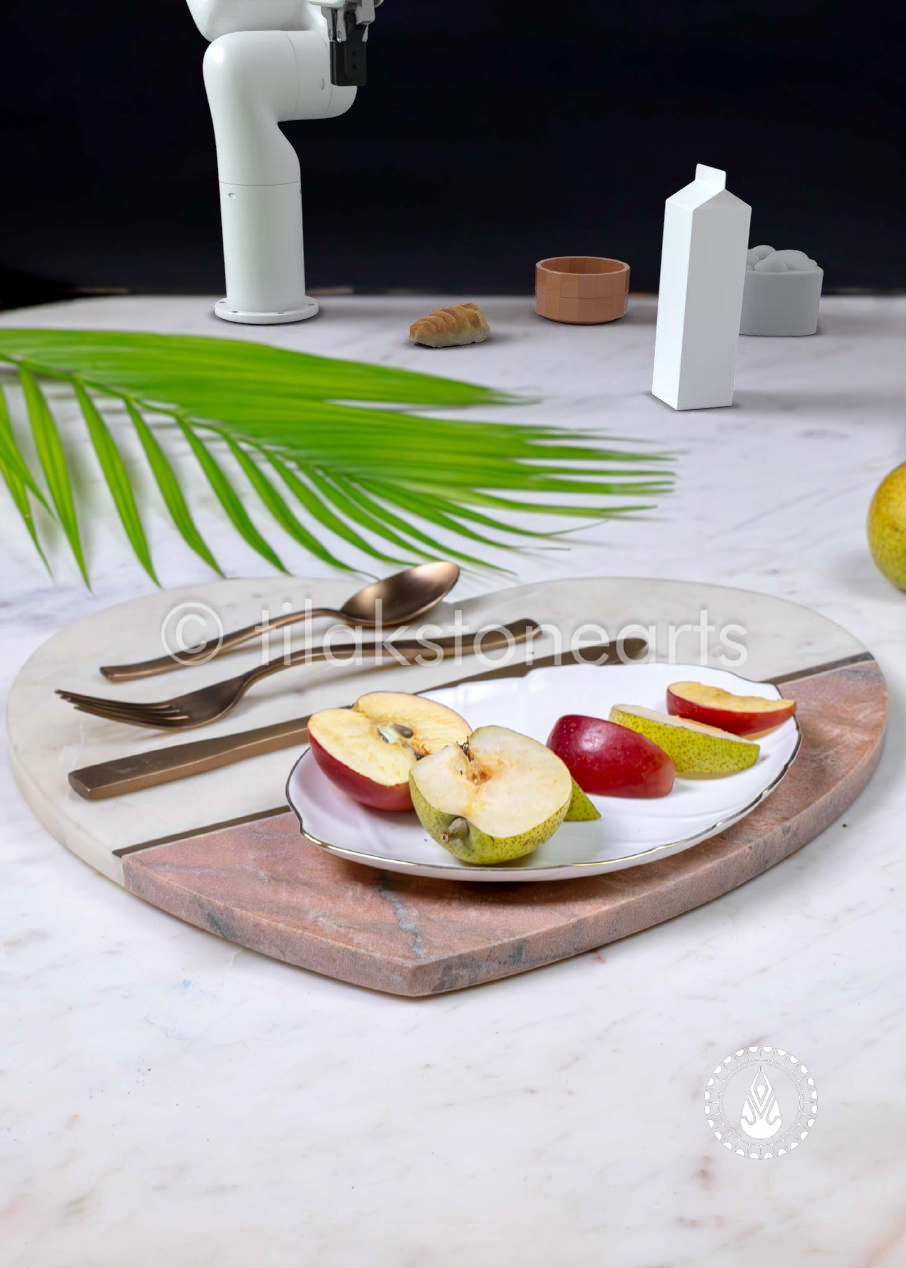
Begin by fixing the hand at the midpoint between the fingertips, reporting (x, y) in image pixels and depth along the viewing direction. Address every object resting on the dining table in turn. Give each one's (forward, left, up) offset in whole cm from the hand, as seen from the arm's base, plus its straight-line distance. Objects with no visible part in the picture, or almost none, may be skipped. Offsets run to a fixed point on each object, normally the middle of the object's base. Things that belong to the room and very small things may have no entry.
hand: (348, 85), depth 134 cm
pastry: (-4, +13, -28) cm, 31 cm away
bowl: (-9, +33, -28) cm, 44 cm away
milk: (+27, +25, -28) cm, 46 cm away
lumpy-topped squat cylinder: (+4, +50, -28) cm, 58 cm away
